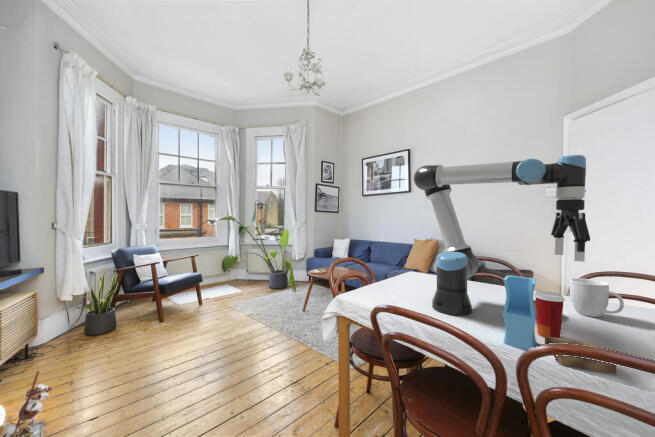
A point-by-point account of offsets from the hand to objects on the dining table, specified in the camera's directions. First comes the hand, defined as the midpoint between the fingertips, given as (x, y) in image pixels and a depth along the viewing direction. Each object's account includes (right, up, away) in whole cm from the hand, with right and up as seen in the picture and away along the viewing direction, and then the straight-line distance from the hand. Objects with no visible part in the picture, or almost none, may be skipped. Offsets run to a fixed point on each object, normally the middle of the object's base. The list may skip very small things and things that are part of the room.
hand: (567, 257), depth 95 cm
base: (-18, -25, -22) cm, 38 cm away
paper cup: (-15, -25, -9) cm, 30 cm away
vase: (-27, -25, -13) cm, 39 cm away
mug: (+17, -24, +8) cm, 31 cm away
